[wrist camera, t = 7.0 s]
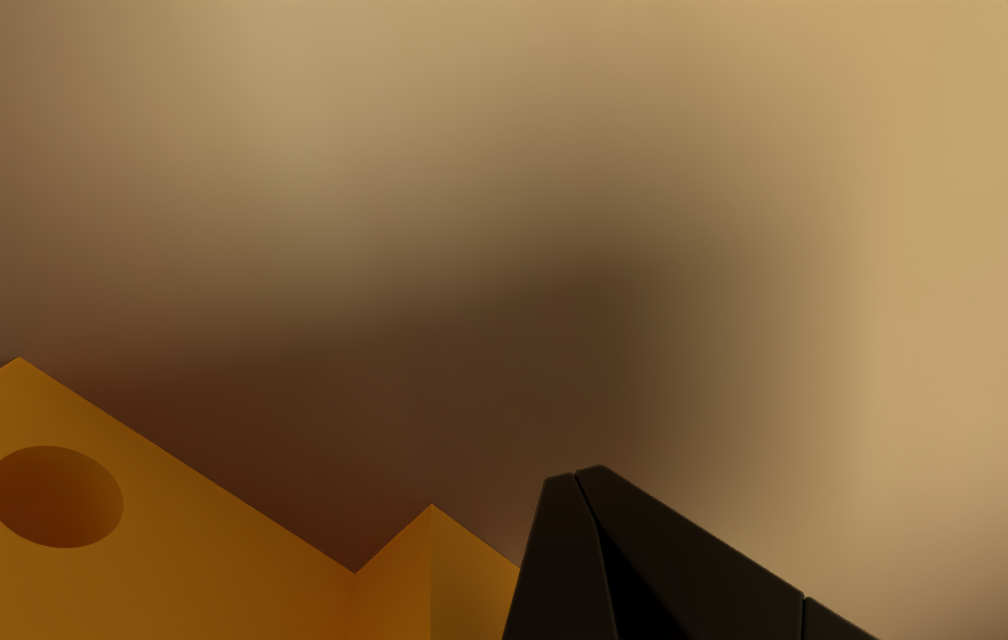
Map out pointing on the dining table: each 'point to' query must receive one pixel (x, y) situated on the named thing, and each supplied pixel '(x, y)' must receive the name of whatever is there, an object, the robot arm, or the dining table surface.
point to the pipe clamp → (200, 547)
